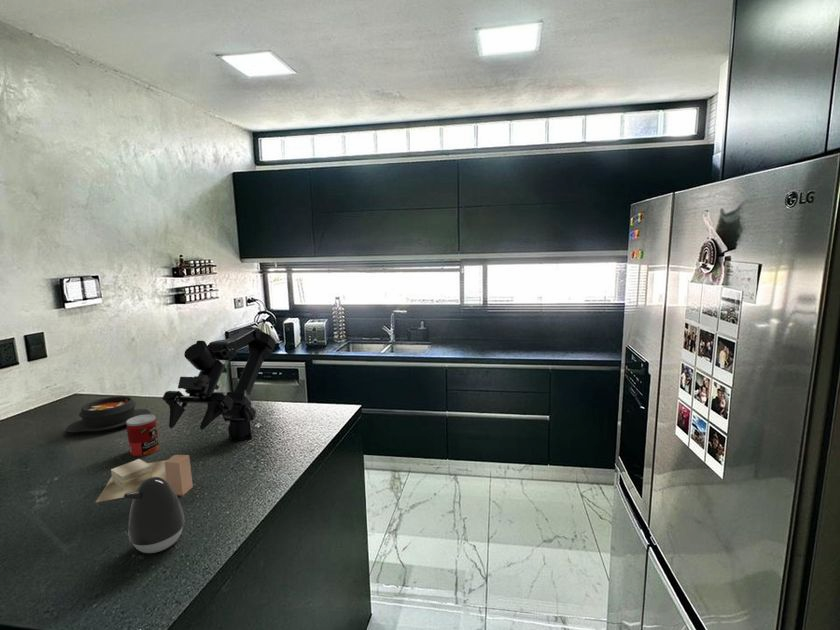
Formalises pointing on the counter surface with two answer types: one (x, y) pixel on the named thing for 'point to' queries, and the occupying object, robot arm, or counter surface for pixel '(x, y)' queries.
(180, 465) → the post
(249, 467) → the counter surface
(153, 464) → the beige square cloth
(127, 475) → the slab top
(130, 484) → the slab bottom
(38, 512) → the counter surface
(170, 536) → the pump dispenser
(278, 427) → the counter surface
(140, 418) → the canned food
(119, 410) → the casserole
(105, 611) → the counter surface
